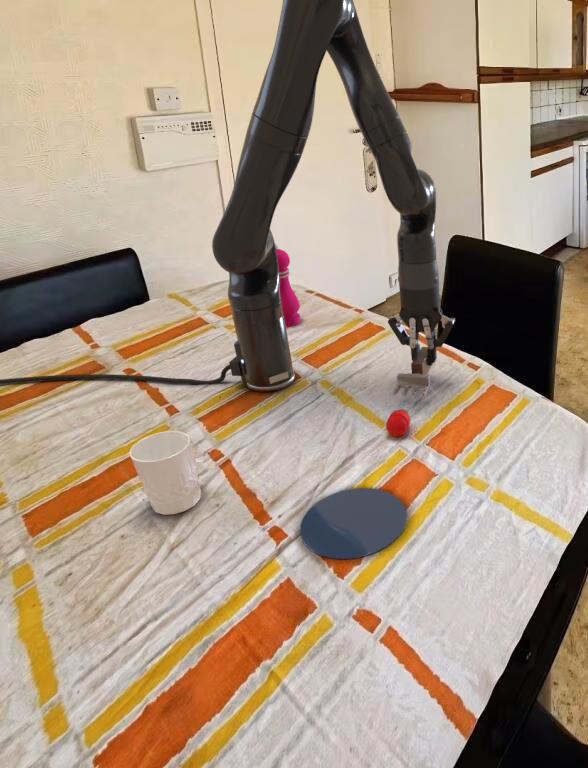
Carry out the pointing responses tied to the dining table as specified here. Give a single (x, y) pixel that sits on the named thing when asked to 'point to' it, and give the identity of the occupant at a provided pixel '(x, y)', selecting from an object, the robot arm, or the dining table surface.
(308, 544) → the plate
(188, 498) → the white cup
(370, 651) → the dining table surface
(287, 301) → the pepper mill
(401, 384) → the fork
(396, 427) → the strawberry
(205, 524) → the dining table surface
